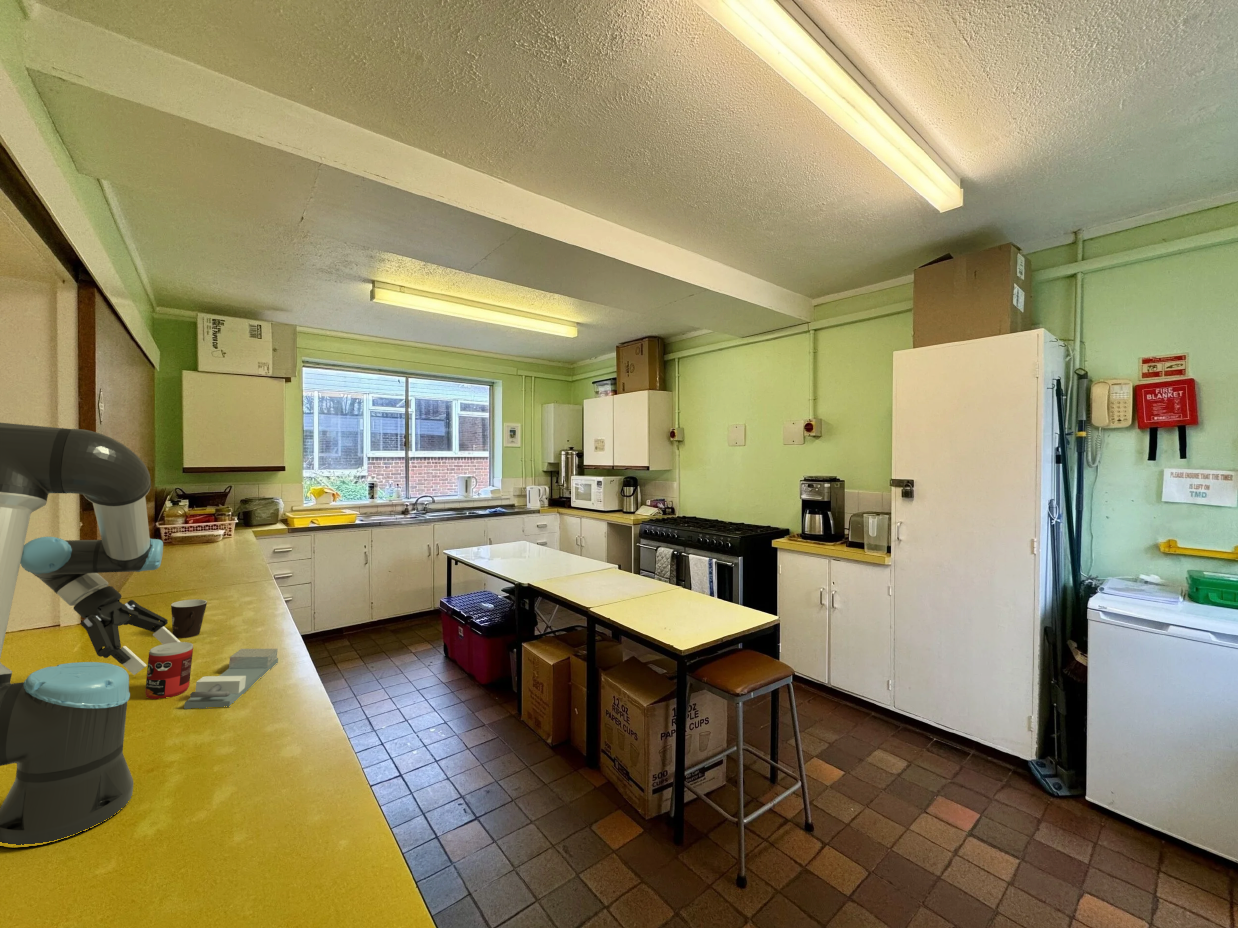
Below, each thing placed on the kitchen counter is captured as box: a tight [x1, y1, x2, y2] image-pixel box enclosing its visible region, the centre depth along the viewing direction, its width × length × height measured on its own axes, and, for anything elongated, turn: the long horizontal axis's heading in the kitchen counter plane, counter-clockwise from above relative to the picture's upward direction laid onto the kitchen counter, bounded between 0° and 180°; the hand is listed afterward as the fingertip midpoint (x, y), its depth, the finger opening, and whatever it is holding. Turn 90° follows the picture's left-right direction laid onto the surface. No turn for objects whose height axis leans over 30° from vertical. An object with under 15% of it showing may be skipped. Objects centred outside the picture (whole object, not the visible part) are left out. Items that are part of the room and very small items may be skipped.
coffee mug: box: [170, 598, 208, 639], centre depth 153 cm, size 12×9×10 cm
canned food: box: [144, 641, 194, 700], centre depth 119 cm, size 8×8×11 cm
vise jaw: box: [228, 648, 278, 669], centre depth 135 cm, size 6×9×3 cm, turn 104°
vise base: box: [183, 657, 279, 710], centre depth 126 cm, size 26×9×4 cm, turn 14°
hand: (160, 658), depth 120 cm, fingers open, 13 cm apart
